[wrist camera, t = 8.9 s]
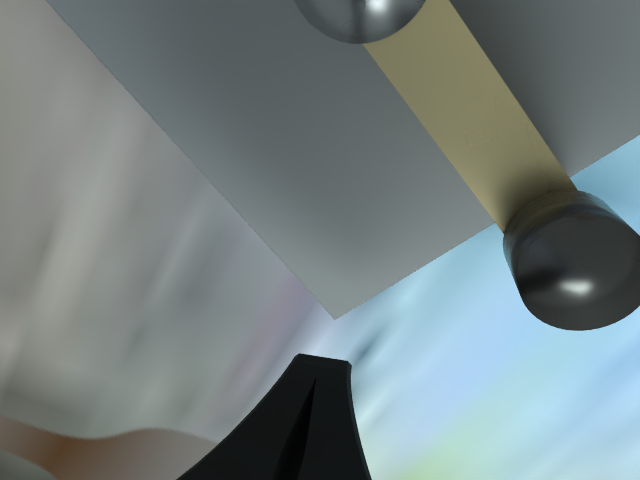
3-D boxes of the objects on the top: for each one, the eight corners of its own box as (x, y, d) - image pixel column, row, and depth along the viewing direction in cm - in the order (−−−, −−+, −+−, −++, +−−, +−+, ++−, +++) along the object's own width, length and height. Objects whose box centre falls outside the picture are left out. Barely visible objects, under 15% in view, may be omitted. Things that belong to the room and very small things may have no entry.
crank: (296, -31, 11) (229, -59, 7) (384, -122, 10) (367, -217, 6) (504, 247, 13) (548, 353, 9) (595, 194, 12) (691, 286, 8)
